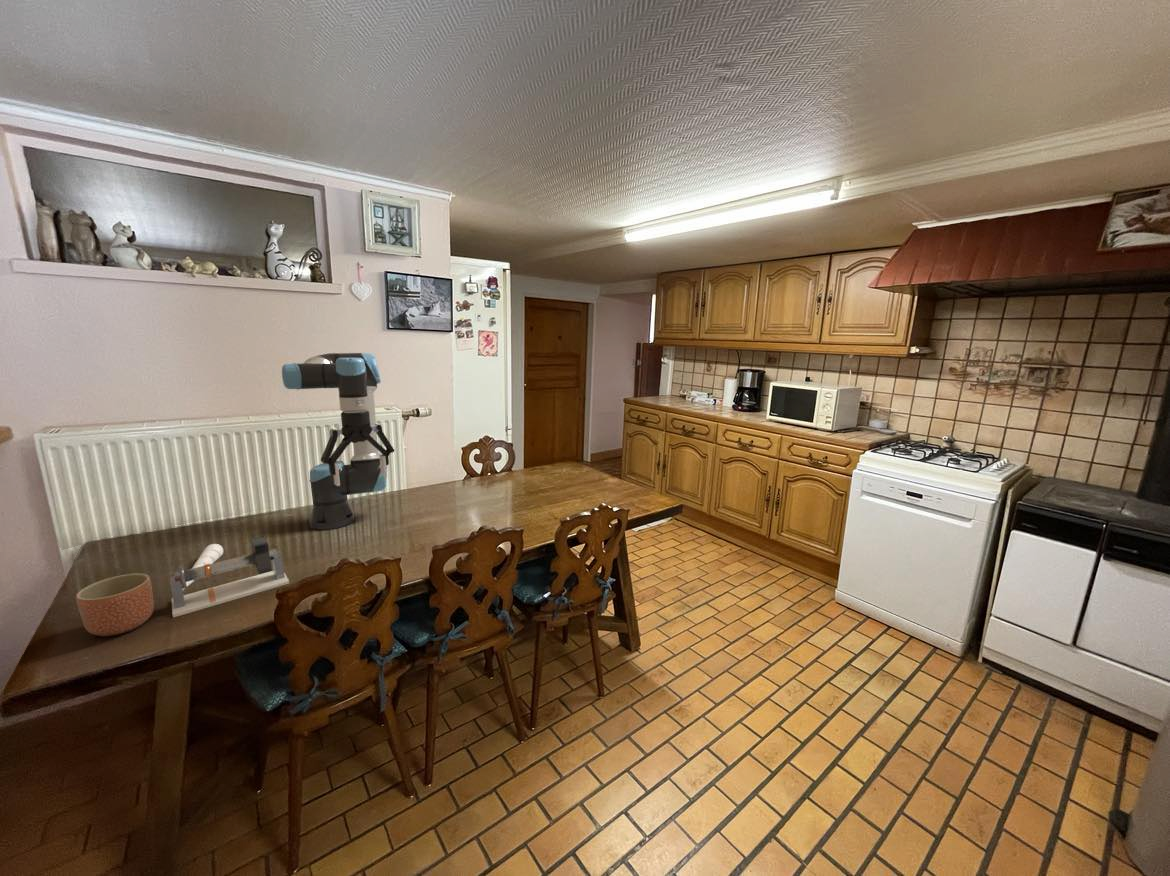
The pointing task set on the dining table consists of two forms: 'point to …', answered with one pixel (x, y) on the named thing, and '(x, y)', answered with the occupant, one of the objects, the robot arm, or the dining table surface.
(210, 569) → the linear slide rail
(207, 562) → the unicorn horn
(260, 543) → the collar
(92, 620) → the planter
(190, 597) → the board
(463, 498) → the dining table surface
